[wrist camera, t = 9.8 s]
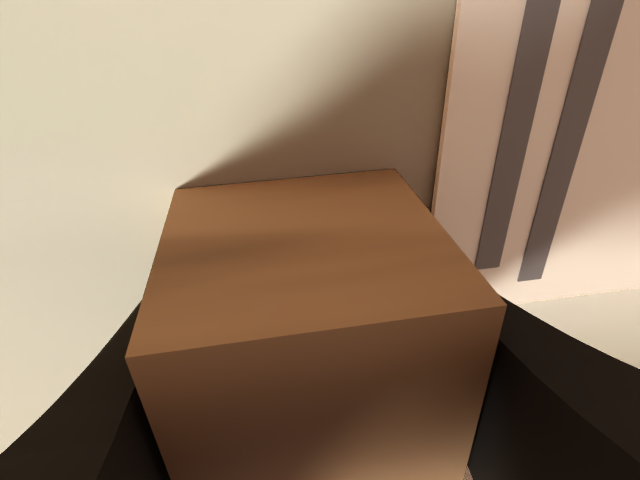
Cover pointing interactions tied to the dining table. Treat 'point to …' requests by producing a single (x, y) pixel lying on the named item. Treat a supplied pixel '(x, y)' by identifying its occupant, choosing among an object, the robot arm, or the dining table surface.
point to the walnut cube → (312, 334)
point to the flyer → (543, 145)
